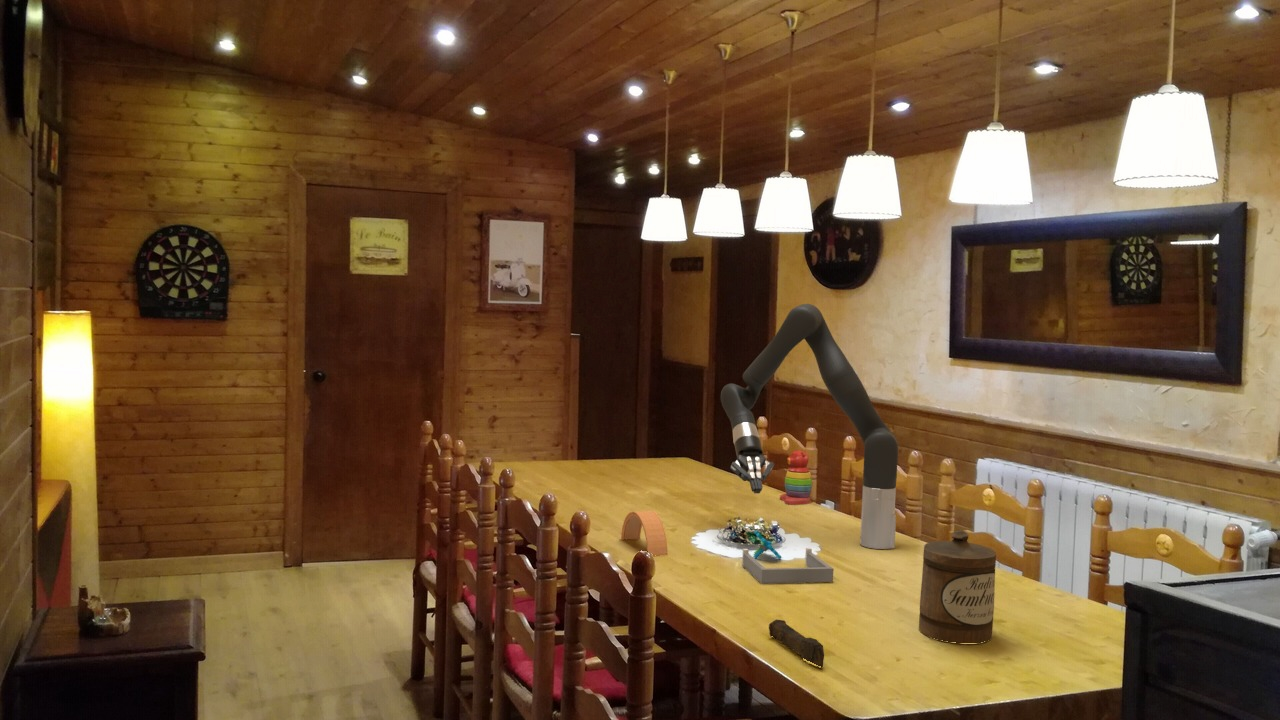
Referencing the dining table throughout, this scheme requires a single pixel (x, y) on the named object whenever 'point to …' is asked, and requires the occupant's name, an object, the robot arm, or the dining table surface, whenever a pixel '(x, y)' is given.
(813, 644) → the dark brown rough bar
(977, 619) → the wooden container
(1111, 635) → the dining table surface
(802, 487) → the stacking bear
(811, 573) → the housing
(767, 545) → the teal crossed bars
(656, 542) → the arch
